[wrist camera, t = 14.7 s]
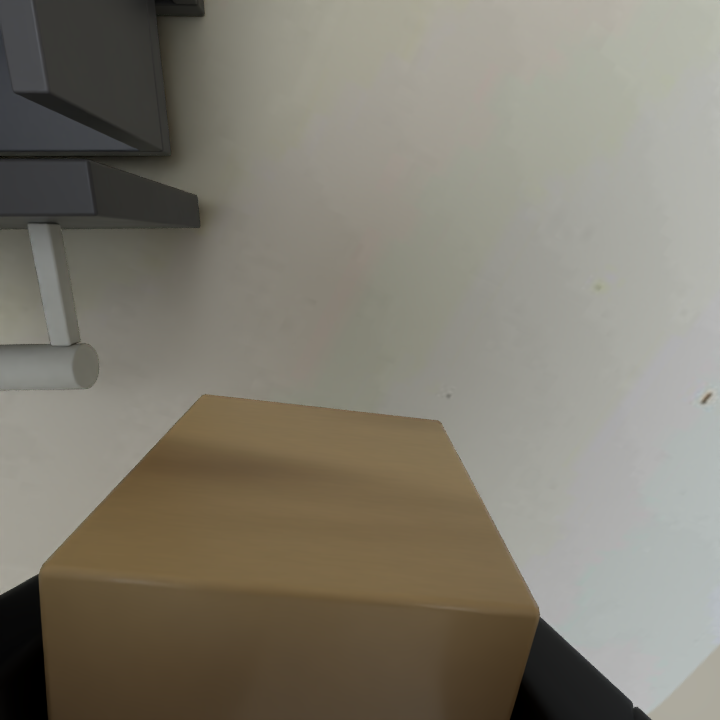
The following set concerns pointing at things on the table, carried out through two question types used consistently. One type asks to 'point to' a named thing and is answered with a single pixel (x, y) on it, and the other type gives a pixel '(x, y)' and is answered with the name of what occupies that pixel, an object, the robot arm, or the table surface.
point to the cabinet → (179, 7)
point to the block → (287, 578)
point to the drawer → (77, 154)
